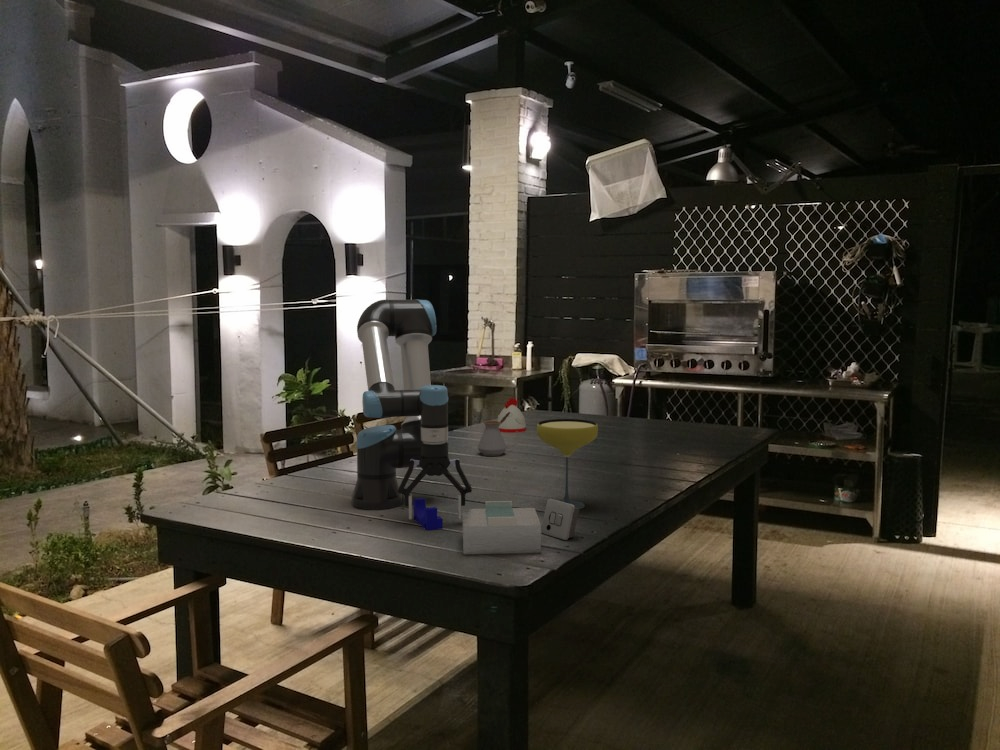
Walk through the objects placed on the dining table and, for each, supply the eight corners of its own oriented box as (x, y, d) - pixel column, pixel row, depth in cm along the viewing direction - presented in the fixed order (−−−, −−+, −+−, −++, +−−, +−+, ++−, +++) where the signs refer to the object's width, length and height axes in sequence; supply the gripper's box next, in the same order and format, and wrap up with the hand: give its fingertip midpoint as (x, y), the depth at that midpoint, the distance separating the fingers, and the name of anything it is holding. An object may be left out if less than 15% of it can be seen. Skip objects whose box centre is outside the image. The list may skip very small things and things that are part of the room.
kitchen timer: (532, 430, 377) (532, 398, 376) (512, 433, 367) (512, 400, 366) (510, 426, 387) (510, 395, 385) (489, 430, 377) (489, 398, 375)
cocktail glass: (524, 506, 242) (524, 424, 240) (559, 495, 256) (560, 416, 254) (574, 517, 231) (575, 430, 228) (608, 504, 244) (609, 422, 242)
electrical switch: (540, 533, 216) (542, 498, 215) (553, 531, 219) (556, 497, 219) (565, 541, 209) (568, 506, 208) (579, 539, 212) (582, 504, 212)
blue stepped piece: (442, 529, 220) (442, 507, 219) (426, 531, 218) (426, 509, 218) (428, 518, 231) (428, 497, 230) (413, 519, 229) (413, 499, 229)
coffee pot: (497, 458, 313) (497, 419, 311) (472, 455, 318) (472, 417, 317) (522, 449, 332) (522, 412, 330) (498, 446, 337) (498, 410, 335)
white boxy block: (463, 554, 198) (463, 518, 197) (462, 534, 214) (462, 501, 213) (540, 552, 199) (541, 517, 199) (534, 533, 215) (534, 500, 214)
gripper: (387, 444, 218) (388, 522, 220) (480, 443, 220) (480, 520, 222) (389, 440, 226) (390, 514, 228) (479, 439, 227) (479, 513, 229)
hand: (435, 517), depth 225 cm, fingers open, 13 cm apart
